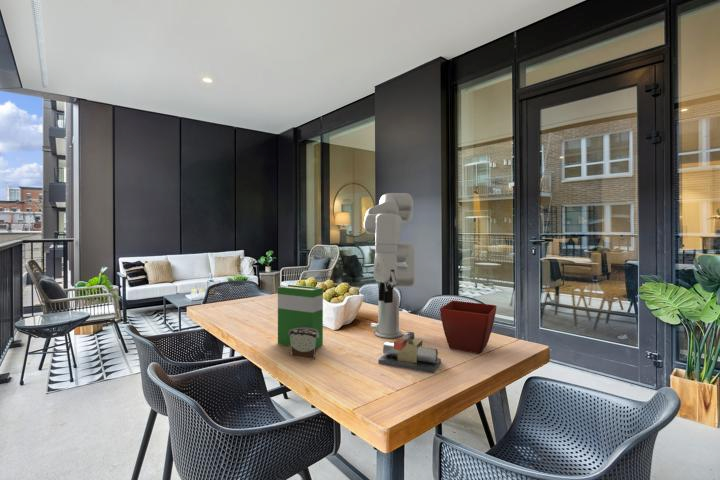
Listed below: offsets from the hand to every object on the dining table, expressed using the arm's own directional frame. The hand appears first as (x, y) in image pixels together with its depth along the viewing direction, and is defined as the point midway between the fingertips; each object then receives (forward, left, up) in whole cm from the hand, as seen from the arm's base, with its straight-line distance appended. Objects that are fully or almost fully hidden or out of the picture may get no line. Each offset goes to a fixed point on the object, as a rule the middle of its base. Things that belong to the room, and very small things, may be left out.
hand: (385, 301), depth 126 cm
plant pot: (+23, +35, -24) cm, 48 cm away
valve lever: (+7, +1, -14) cm, 16 cm away
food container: (-31, -3, -23) cm, 39 cm away
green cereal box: (-41, +7, -23) cm, 48 cm away
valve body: (+7, +7, -23) cm, 25 cm away
